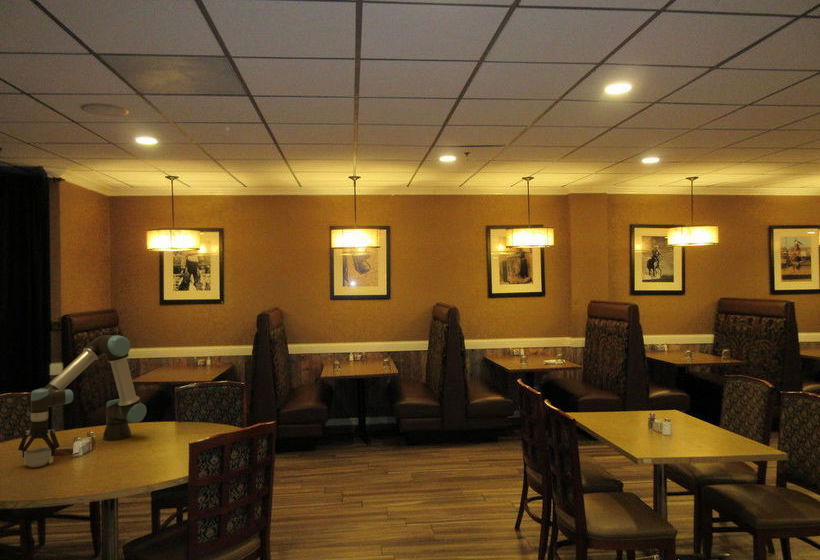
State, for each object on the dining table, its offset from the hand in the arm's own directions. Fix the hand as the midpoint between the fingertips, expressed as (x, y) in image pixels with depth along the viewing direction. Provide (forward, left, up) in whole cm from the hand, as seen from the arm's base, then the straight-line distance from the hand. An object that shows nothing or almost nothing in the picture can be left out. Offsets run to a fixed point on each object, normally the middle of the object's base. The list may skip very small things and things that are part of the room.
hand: (38, 463), depth 275 cm
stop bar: (0, -18, -1) cm, 18 cm away
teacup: (-1, 0, -1) cm, 1 cm away
